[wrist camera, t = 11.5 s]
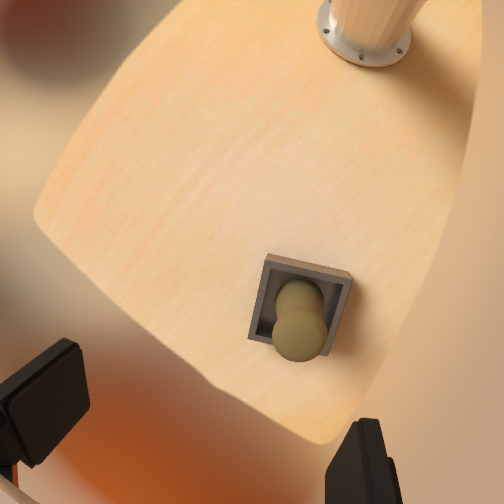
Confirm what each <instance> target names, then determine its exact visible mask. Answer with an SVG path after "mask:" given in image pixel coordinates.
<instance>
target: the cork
mask: <svg viewBox="0 0 504 504" xmlns="http://www.w3.org/2000/svg"><path fill="white" fill-rule="evenodd" d="M323 307H324V296H323V294H322V291H321V289H320V288H319V287H318V286H317V285H316V284H315V283H313V282H311V281H310V280H306V279H293V280H290V281H288V282H286V283H285V284H283V285H282V286H281V287H280V288H279V290H278V292H277V293H276V297H275V309H276V314H277V322H276V323H275V325H274V328H273V332H272V340H273V344H274V346H275V348H276V351H277V352H278V353H279V354H280V355H281V356H282V357H284V358H285V359H287V360H289V361H294V362H305V361H308V360H311V359H313V358H315V357H316V356H318V355H319V354H320V353H321V351H322V350H323V349H324V347H325V344H326V341H327V328H326V326H325V323H324V321H323V320H322V314H323Z"/></svg>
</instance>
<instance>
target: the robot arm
mask: <svg viewBox="0 0 504 504" xmlns="http://www.w3.org/2000/svg"><path fill="white" fill-rule="evenodd" d="M426 1H427V0H324V1H323V2H322V4H321V5H320V7H319V10H318V13H317V28H318V31H319V34H320V36H321V37H322V39H323V41H324V42H325V43H326V45H327V46H328V47H329V48H330V49H331V50H332V51H334V52H335V53H336V54H337V55H339V56H340V57H342V58H343V59H345V60H348V61H350V62H352V63H355V64H358V65H361V66H366V67H385V66H389V65H392V64H394V63H396V62H398V61H399V60H400V59H402V57H403V56H404V55H405V54H406V52H407V51H408V49H409V47H410V43H411V33H410V28H409V26H410V25H411V23H412V22H413V20H414V19H415V17H416V16H417V15H418V13H419V12H420V10H421V9H422V7H423V6H424V4H425V3H426ZM325 33H327V34H325ZM397 52H398V53H397ZM360 59H362V60H360ZM83 362H84V361H83V354H82V350H81V349H80V347H79V345H78V344H77V343H76V342H73V341H71V340H69V339H66V338H62V339H61V340H59V341H58V342H56V343H55V344H54V345H52V346H51V347H49V348H48V349H47V350H45V351H44V352H43V353H41V354H40V355H39V356H37V357H36V358H34V359H33V360H32V361H30V362H29V363H28V364H26V365H25V366H24V367H22V368H21V369H20V370H18V371H17V372H16V373H14V374H13V375H12V376H10V377H9V378H8V379H6V380H5V381H4V382H3V383H1V384H0V504H39V503H38V502H36V501H34V500H33V499H32V498H30V497H29V496H28V495H26V494H25V493H24V492H22V491H21V490H20V489H19V484H18V471H17V463H18V462H19V461H20V460H21V461H22V462H23V463H25V464H26V465H27V466H29V467H30V468H31V469H32V468H33V467H34V466H35V465H39V464H41V463H42V462H43V461H44V460H45V458H46V457H47V456H48V455H49V454H50V453H51V452H52V450H53V449H54V448H55V447H56V446H57V445H58V443H60V441H61V440H62V439H63V438H64V437H65V436H66V434H67V433H68V432H69V431H70V430H71V429H72V428H73V427H74V426H75V425H76V423H77V422H78V421H79V420H80V419H81V418H82V417H83V416H84V414H85V413H86V412H87V411H88V410H89V407H90V399H89V393H88V388H87V382H86V375H85V369H84V363H83ZM325 504H403V502H402V497H401V492H400V487H399V482H398V477H397V473H396V468H395V464H394V461H393V459H392V458H391V457H387V453H386V449H385V444H384V440H383V436H382V431H381V427H380V423H379V420H378V419H371V418H360V419H359V421H358V422H356V421H354V422H353V423H352V425H351V427H350V429H349V431H348V433H347V434H346V436H345V438H344V440H343V442H342V444H341V445H340V447H339V449H338V451H337V453H336V454H335V456H334V458H333V459H332V461H331V463H330V465H329V466H328V468H327V470H326V474H325Z"/></svg>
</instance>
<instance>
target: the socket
mask: <svg viewBox="0 0 504 504" xmlns="http://www.w3.org/2000/svg"><path fill="white" fill-rule="evenodd" d="M293 279H306V280H310V281H311V282H313V283H315V284H316V285H317V286H318V287H319V288H320V289H321V291H322V294H323V296H324V307H323V314H322V320H323V321H324V323H325V326H326V328H327V341H326V344H325V347H324V349H323V350H322V351H321V353H320V354H319V355H324V356H328V354H329V351H330V348H331V345H332V342H333V339H334V336H335V333H336V330H337V327H338V324H339V321H340V318H341V315H342V312H343V309H344V305H345V302H346V299H347V296H348V292H349V289H350V285H351V282H352V278H351V277H350V275H349V273H348V272H347V271H343V270H339V269H334V268H330V267H325V266H321V265H317V264H312V263H308V262H304V261H299V260H295V259H290V258H286V257H282V256H277V255H273V254H269V253H268V254H267V256H266V258H265V262H264V266H263V271H262V275H261V280H260V285H259V289H258V294H257V298H256V303H255V307H254V312H253V316H252V321H251V325H250V329H249V334H248V338H247V339H250V340H255V341H259V342H263V343H267V344H272V345H274V344H273V340H272V332H273V328H274V325H275V323H276V322H277V314H276V309H275V297H276V293H277V292H278V290H279V288H280V287H281V286H282V285H283V284H285V283H286V282H288V281H290V280H293Z"/></svg>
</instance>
